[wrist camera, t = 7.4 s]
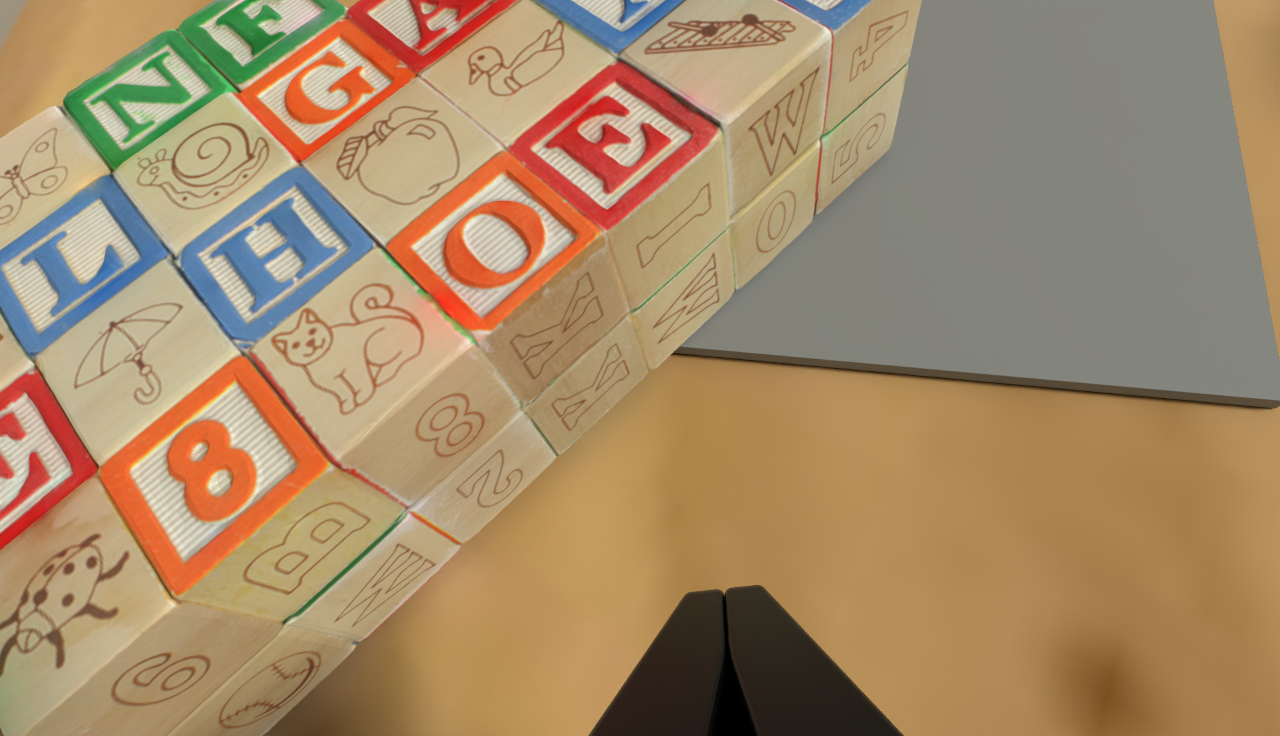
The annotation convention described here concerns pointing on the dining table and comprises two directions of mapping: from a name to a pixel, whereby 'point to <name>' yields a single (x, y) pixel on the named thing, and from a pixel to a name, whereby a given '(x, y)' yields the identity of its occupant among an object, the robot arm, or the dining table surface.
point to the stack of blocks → (364, 307)
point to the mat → (1037, 217)
